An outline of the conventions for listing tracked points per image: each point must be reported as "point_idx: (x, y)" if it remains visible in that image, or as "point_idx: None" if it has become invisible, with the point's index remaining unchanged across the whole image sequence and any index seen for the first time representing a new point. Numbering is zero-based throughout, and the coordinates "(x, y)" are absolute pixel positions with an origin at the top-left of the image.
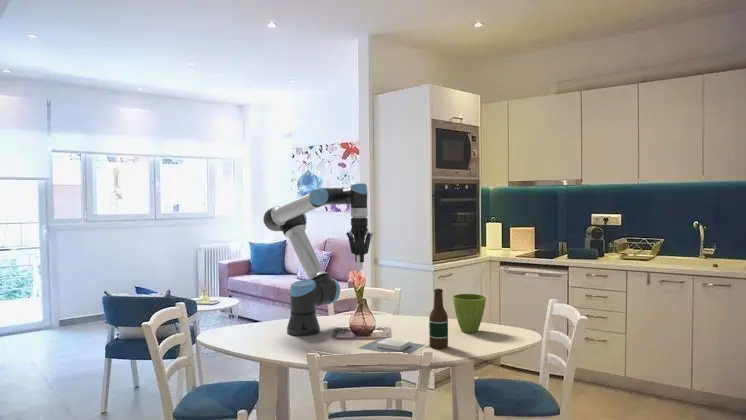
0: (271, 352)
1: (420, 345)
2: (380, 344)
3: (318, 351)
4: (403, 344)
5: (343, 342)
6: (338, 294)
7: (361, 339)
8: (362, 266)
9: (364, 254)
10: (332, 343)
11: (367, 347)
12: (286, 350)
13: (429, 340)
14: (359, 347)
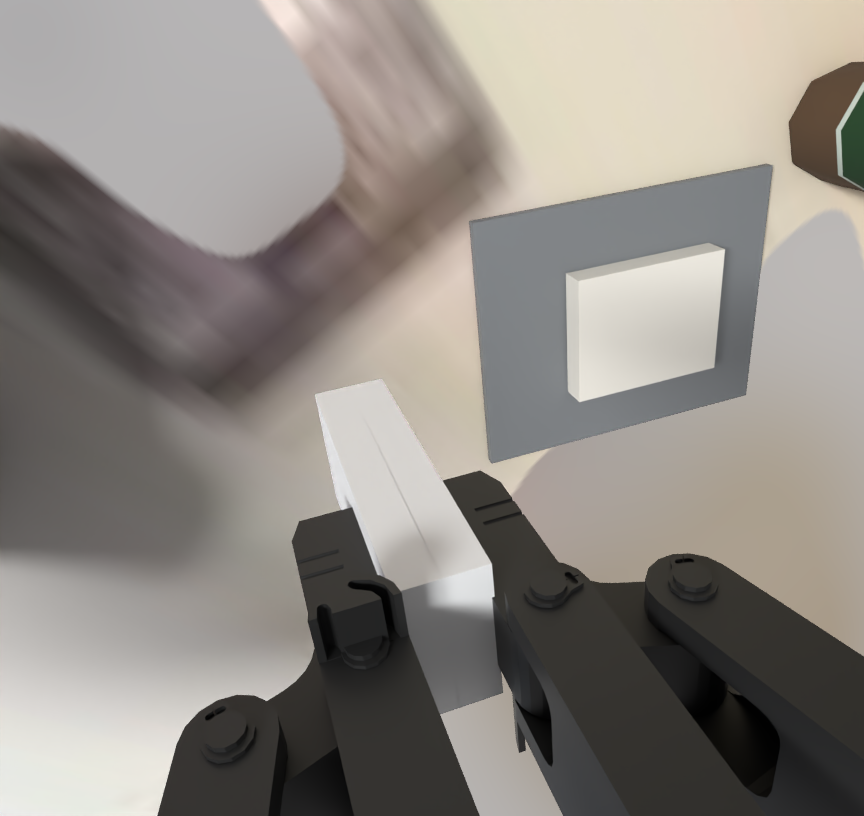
0: None
1: (750, 195)
2: (601, 392)
3: None
4: (717, 328)
5: None
6: None
7: (365, 302)
8: (397, 412)
9: (598, 589)
10: (291, 481)
11: (529, 422)
12: (211, 703)
13: (818, 170)
14: (494, 451)
